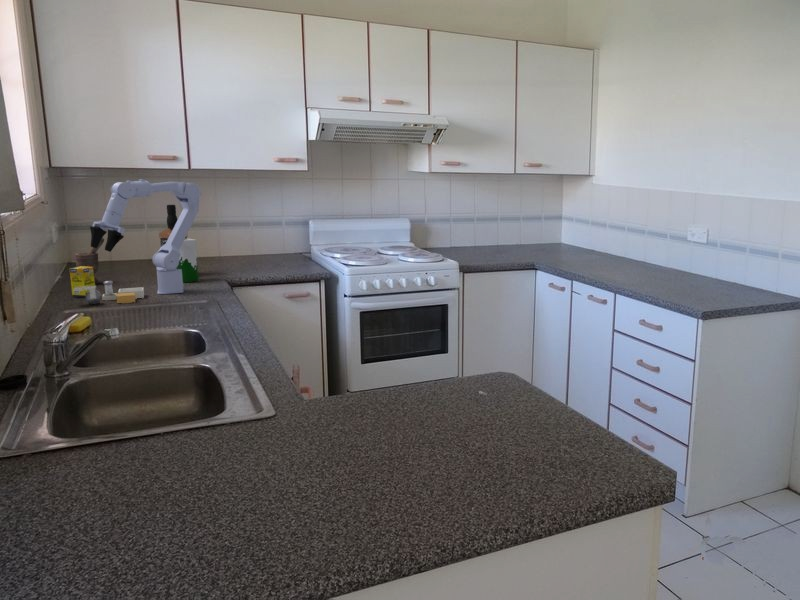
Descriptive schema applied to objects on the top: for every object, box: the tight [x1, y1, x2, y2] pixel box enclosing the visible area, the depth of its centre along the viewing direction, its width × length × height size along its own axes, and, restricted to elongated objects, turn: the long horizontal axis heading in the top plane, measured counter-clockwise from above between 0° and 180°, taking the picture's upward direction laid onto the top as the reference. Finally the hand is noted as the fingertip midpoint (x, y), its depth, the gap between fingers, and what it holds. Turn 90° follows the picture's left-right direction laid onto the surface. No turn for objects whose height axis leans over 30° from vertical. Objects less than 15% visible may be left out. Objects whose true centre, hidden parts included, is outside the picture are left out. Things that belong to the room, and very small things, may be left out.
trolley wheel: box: [74, 285, 103, 305], centre depth 217 cm, size 8×5×6 cm, turn 111°
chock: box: [116, 293, 136, 304], centre depth 222 cm, size 6×5×3 cm
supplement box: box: [69, 266, 96, 298], centre depth 232 cm, size 6×6×11 cm
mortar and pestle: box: [74, 237, 105, 285], centre depth 255 cm, size 12×9×20 cm
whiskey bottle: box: [158, 204, 189, 248], centre depth 272 cm, size 10×10×32 cm
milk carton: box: [176, 238, 200, 284], centre depth 261 cm, size 9×9×20 cm
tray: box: [117, 286, 145, 300], centre depth 229 cm, size 8×7×3 cm
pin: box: [102, 280, 114, 296], centre depth 226 cm, size 3×3×7 cm
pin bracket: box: [101, 292, 118, 301], centre depth 227 cm, size 5×5×2 cm
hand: (100, 249), depth 218 cm, fingers open, 7 cm apart
